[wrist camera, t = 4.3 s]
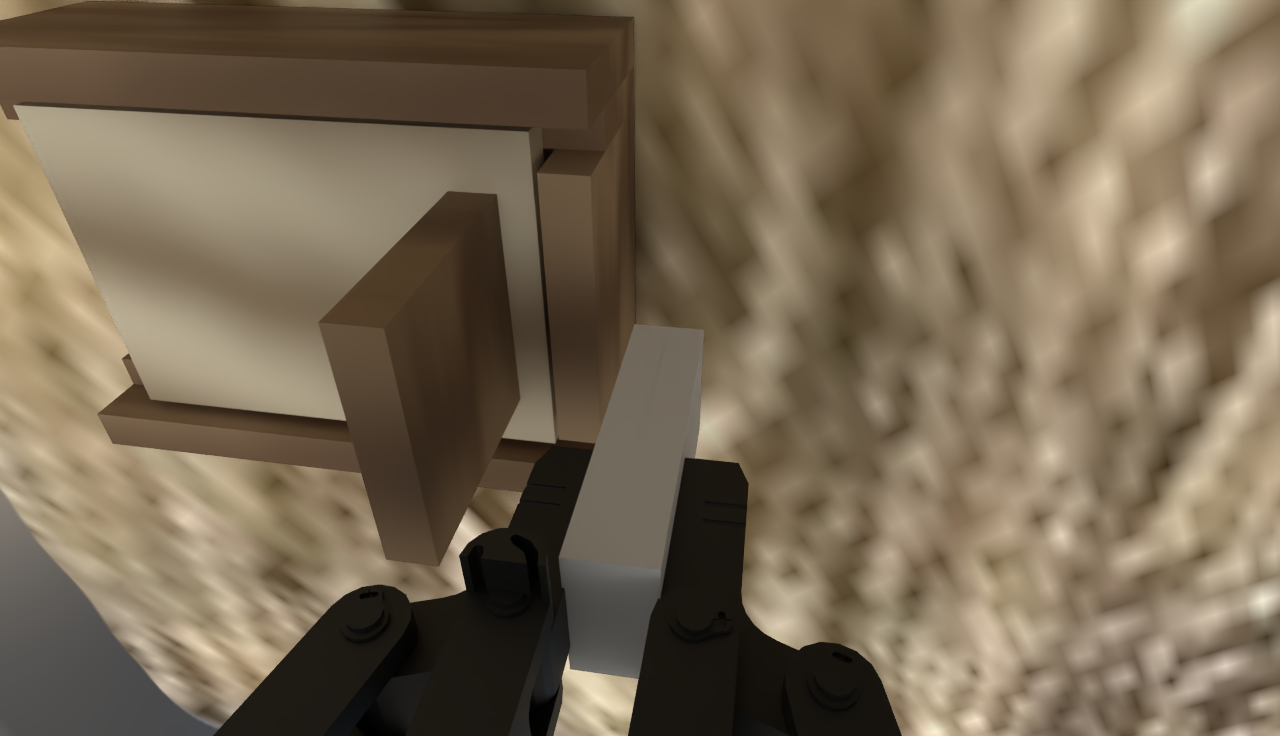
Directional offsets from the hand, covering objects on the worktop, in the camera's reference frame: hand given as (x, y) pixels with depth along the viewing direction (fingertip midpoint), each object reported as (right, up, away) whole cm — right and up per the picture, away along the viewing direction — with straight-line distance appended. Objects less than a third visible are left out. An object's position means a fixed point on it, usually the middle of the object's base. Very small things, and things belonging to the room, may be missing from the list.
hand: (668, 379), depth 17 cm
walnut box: (-9, +5, +7) cm, 13 cm away
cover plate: (-9, +3, +4) cm, 11 cm away
